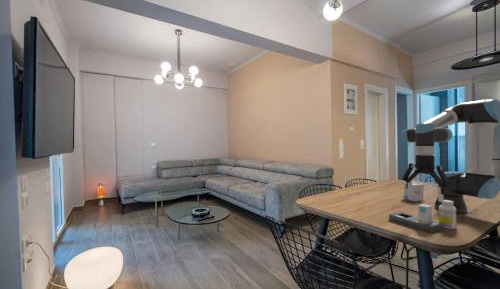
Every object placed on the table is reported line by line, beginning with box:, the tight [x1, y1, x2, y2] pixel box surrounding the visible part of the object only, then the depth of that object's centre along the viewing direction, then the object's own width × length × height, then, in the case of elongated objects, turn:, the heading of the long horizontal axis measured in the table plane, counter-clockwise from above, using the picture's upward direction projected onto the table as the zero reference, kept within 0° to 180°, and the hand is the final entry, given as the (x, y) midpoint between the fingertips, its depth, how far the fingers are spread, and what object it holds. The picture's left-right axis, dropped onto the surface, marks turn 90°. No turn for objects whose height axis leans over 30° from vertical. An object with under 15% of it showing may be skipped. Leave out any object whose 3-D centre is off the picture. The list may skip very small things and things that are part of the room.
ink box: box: [403, 179, 425, 202], centre depth 164 cm, size 9×8×13 cm
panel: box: [388, 211, 444, 234], centre depth 118 cm, size 10×20×3 cm, turn 25°
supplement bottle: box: [438, 200, 457, 230], centre depth 114 cm, size 7×7×13 cm
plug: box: [417, 203, 433, 224], centre depth 113 cm, size 5×4×11 cm
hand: (424, 197), depth 113 cm, fingers open, 13 cm apart
